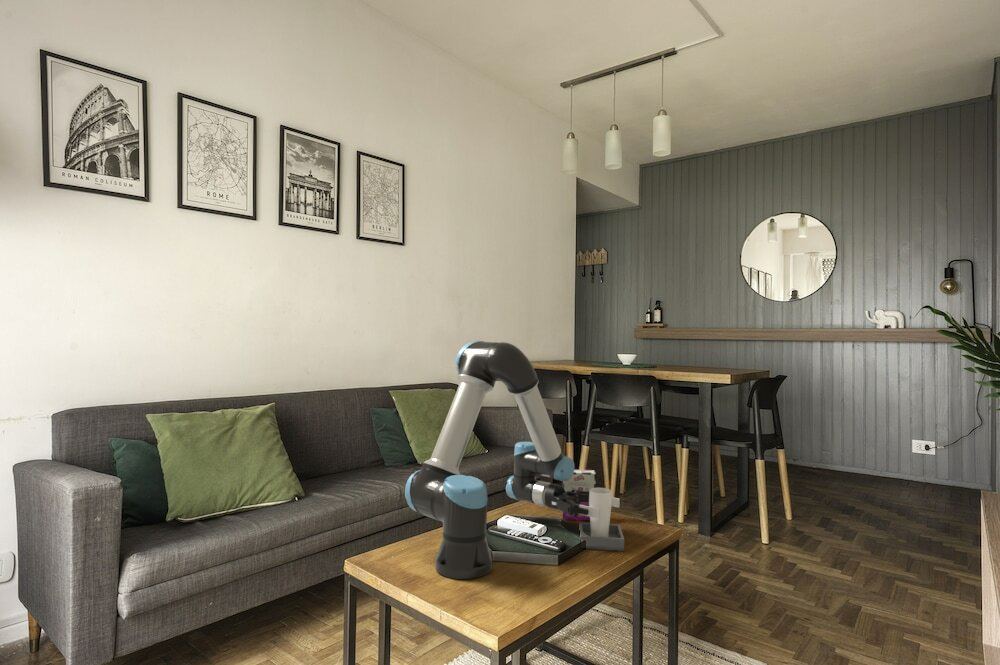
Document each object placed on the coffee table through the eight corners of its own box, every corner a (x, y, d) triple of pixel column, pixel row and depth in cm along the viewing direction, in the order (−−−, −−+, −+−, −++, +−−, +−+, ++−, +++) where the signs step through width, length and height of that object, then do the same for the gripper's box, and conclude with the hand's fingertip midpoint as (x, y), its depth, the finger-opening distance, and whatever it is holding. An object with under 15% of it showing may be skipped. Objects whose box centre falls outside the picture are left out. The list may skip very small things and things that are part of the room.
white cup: (609, 536, 173) (610, 487, 173) (611, 544, 166) (612, 494, 166) (587, 535, 174) (588, 486, 174) (588, 543, 167) (589, 493, 167)
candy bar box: (594, 517, 194) (595, 469, 194) (595, 521, 189) (596, 473, 189) (562, 515, 195) (563, 468, 195) (562, 520, 190) (563, 471, 190)
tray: (580, 548, 165) (580, 536, 165) (579, 533, 177) (579, 522, 177) (624, 551, 163) (624, 539, 163) (619, 535, 176) (619, 524, 176)
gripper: (568, 497, 191) (626, 510, 179) (527, 516, 171) (590, 532, 159) (568, 476, 191) (626, 487, 179) (528, 491, 171) (590, 505, 159)
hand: (609, 508), depth 169 cm, fingers open, 13 cm apart
